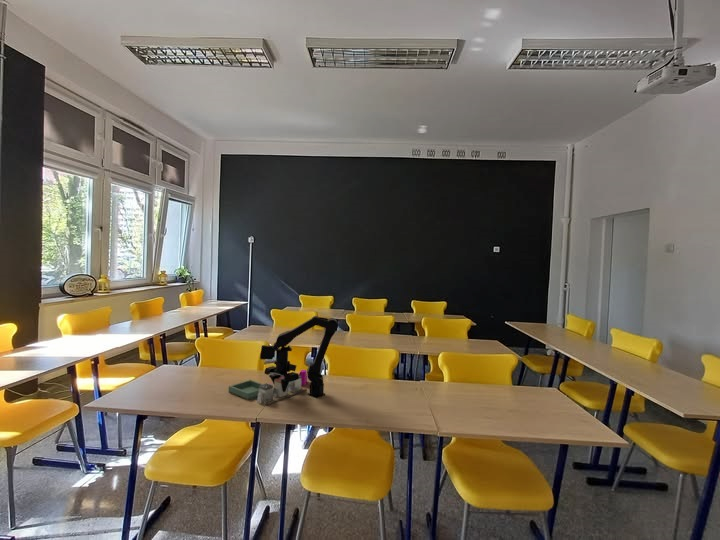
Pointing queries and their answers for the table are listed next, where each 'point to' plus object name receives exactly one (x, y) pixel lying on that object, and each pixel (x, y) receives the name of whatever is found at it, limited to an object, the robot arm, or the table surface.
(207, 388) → the table surface
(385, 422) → the table surface
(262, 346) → the robot arm
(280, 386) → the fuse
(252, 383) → the tray
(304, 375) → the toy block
